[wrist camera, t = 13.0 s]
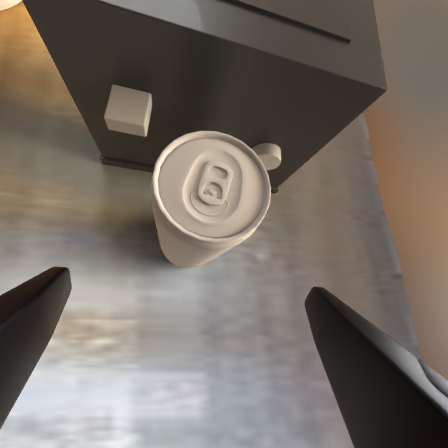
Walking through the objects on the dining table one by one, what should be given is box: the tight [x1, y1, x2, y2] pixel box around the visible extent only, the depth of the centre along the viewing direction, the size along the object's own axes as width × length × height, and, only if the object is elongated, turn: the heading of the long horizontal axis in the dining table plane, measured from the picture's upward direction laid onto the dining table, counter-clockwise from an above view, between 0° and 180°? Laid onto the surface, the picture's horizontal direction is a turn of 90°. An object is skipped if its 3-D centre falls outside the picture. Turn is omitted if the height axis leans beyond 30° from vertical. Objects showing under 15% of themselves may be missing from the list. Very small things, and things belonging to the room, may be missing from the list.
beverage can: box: [150, 131, 271, 268], centre depth 14 cm, size 5×5×12 cm
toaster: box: [22, 0, 388, 193], centre depth 16 cm, size 12×16×13 cm
